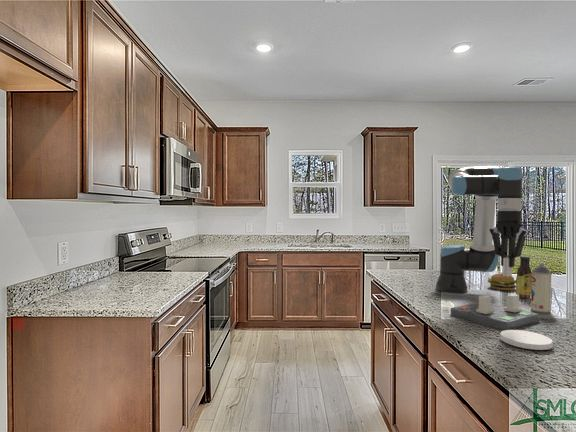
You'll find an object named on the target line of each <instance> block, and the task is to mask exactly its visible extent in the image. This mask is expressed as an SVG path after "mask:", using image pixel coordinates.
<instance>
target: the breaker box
mask: <svg viewBox="0 0 576 432" xmlns="http://www.w3.org/2000/svg"><path fill="white" fill-rule="evenodd" d="M504 307H507V305H506V306H505V305H500V304H496V303H492V304H491V309H492V310H494V313H490V314H483V313H479V312H476V309H479V301H478V302H474V303H469V304H464V305H459V306H455V307H451V308H450V317H456V318H458V319H462V320H466V321H469V322H473V323H476V324H480V325H484V326H488V327H492V328H495V329H499V330H501V331H504V330H516V329H518V328H522V327H526V326H528V325H531V324H535V323H539V319H540V317H539V315H540V313H536V312H533V311H528V310H523V309H521V311H519V312H515V313H514V312H510V311H506V310H504Z"/></svg>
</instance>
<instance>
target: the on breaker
mask: <svg viewBox="0 0 576 432" xmlns="http://www.w3.org/2000/svg"><path fill="white" fill-rule="evenodd" d="M504 310H506V311H510V312H514V313H515V312H519V311H521V310H522V308H521V307H520V298H519V295H517V294H516V293H511V294H507V295H506V307H504Z"/></svg>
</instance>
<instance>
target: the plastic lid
mask: <svg viewBox="0 0 576 432" xmlns="http://www.w3.org/2000/svg"><path fill="white" fill-rule="evenodd" d="M499 335H500V336H499V338H500V340H501V341H502V342H504V343H506V344H508V345H511V346H514V347H518V348H522V349H527V350H535V351H537V350H538V351H543V350H550V349H552V348H553V347H554V345H553V343H554V341H553V339H552V338H550V337H549V336H547V335H543V334H540V333H538V332H532V331H528V330H521V329H520V330H519V329H512V330H501V332H500V334H499Z"/></svg>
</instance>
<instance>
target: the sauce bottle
mask: <svg viewBox="0 0 576 432" xmlns="http://www.w3.org/2000/svg"><path fill="white" fill-rule="evenodd" d="M530 260H531V257H530V256H525V255H524V256H523V255H521V256H520V257H519V261H520V264H519V267H517V271H516V280H517V282H516V283H515V285H516V287H515V294H517V295H519V299H531V283H532V269H531V267H530Z"/></svg>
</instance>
